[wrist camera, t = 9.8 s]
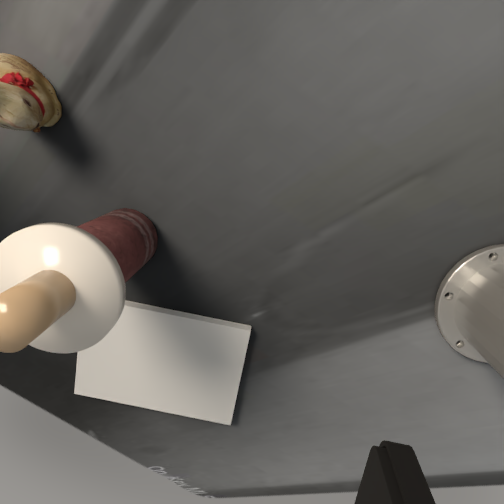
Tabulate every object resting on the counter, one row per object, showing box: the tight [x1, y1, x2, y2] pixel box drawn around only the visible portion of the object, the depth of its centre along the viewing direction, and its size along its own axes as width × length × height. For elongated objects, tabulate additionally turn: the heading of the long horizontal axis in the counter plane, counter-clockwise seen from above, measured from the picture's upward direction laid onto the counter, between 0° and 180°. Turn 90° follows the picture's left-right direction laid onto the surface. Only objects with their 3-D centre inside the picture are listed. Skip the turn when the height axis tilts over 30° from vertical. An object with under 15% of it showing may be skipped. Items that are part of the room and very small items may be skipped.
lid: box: [0, 222, 126, 353], centre depth 25 cm, size 9×9×6 cm
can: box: [78, 208, 158, 283], centre depth 34 cm, size 6×6×14 cm
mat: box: [74, 300, 251, 425], centre depth 44 cm, size 18×12×1 cm, turn 79°
